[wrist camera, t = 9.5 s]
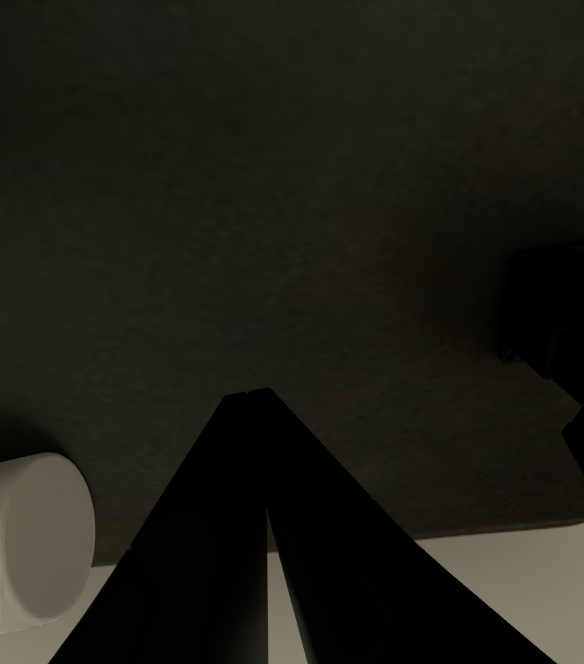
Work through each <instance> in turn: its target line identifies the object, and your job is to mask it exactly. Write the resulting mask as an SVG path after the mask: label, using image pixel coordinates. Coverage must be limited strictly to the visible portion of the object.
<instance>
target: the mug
mask: <svg viewBox="0 0 584 664" xmlns="http://www.w3.org/2000/svg"><path fill="white" fill-rule="evenodd" d="M94 545H95V518H94V510H93V504H92V500H91V496H90V493H89V490H88V487H87V484H86V482H85V480H84V478H83V476H82V474H81V473H80V471H79V470H78V469H77V467H76V466H75V465H74V464H73V463H72V462H71V461H70V460H69V459H67V458H66V457H64V456H62V455H60V454H57V453H51V452H45V453H39V454H35V455H30V456H26V457H22V458H17V459H13V460H8V461H4V462H0V635H4V634H8V633H13V632H16V631H22V630H26V629H30V628H35V627H39V626H43V625H48V624H50V623H53V622H55V621H57V620H58V619H60V618H61V617H62V616H64V615H65V614H66V613H67V612H68V611H69V610H70V609H71V607H72V606H73V605H74V604H75V602H76V601H77V599H78V597H79V596H80V594H81V592H82V590H83V588H84V586H85V583H86V580H87V578H88V575H89V572H90V568H91V564H92V559H93V553H94Z"/></svg>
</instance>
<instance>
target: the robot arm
mask: <svg viewBox="0 0 584 664" xmlns="http://www.w3.org/2000/svg"><path fill="white" fill-rule="evenodd" d="M524 258H525V262H524V263H523V264H521V265H520V262H521V260H522V259H524ZM499 338H500V343H499V350H498V357H499V359H500V360H501V361H502V362H503V363H505V364H513V363H520V362H526V363H527V364H528V365H530V366H531V367H532V368H533V369H534V370H535V371H536V372H537V373H538V374H539V375H540V376H541V377H543V378H544V379H545V380H554V381H555V382H556V383H557V384H558V385H559V386H560V387H561V388H562V389H564V390H565V391H566V392H567V393H568V394H569V395H570V396H571V397H572V398H574V399H575V400H576V401H577V402H578V403H579V404H580V405H583V406H582V408H581V409H580V411H579V412H578V413H577V415H576V416H575V418H574V419H573V421H572V422H571V423H568V424H567V425H566V426H565V428H564V429H563V431H562V432H561V434H562V436H563V438H564V439H565V441H566V443H567V445H568V447H569V449H570V450H571V452H572V454H573V456H574V458H575V460H576V461H577V463H578V465H579V467H580V469H581V471H582V472H583V474H584V241H582V242H575V243H569V244H562V245H555V246H549V247H542V248H535V249H528V250H522V251H519V252H517V253H516V254H514V256H513V257H512V259H511V263H510V270H509V277H508V285H507V292H506V295H505V296H504V301H503V308H502V315H501V323H500V330H499ZM509 353H511V354H510V355H509V356H507V355H508V354H509ZM506 356H507V357H506ZM266 507H267V511H268V515H269V519H270V524H271V528H272V531H273V535H274V539H275V543H276V546H277V550H278V554H279V558H280V561H281V565H282V569H283V572H284V576H285V580H286V584H287V587H288V591H289V595H290V599H291V603H292V606H293V610H294V614H295V617H296V621H297V625H298V629H299V632H300V636H301V640H302V644H303V648H304V651H305V655H306V659H307V662H308V664H557V663H556V662H554V661H553V660H552V659H551V658H550V657H548V656H547V655H546V654H545V653H543V652H542V651H541V650H540V649H539V648H538V647H536V646H535V645H534V644H533V643H532V642H530V641H529V640H528V639H527V638H526V637H525V636H523V635H522V634H521V633H520V632H519V631H517V630H516V629H515V628H514V627H513V626H512V625H510V624H509V623H508V622H507V621H506V620H505V619H503V618H502V617H501V616H500V615H499V614H498V613H496V612H495V611H494V610H493V609H492V608H490V607H489V606H488V605H487V604H486V603H485V602H483V601H482V600H481V599H480V598H479V597H478V596H476V595H475V594H474V593H473V592H472V591H470V590H469V589H468V588H467V587H466V586H465V585H463V584H462V583H461V582H460V581H459V580H458V579H456V578H455V577H454V576H453V575H451V574H450V573H449V572H448V571H447V570H446V569H445V568H444V567H442V566H441V565H440V564H439V563H438V562H437V561H436V560H435V559H434V558H432V557H431V556H430V555H429V554H428V553H427V552H426V551H425V550H424V549H422V548H421V547H420V546H419V545H418V544H417V543H416V542H415V541H414V540H413V539H412V538H411V537H410V536H409V535H408V534H407V533H406V532H405V531H404V530H403V529H402V528H401V527H400V526H399V525H398V524H397V523H396V522H395V521H394V520H393V519H392V518H391V517H390V516H389V515H388V514H387V513H386V512H385V511H384V510H383V508H382V507H381V506H380V505H379V504H378V503H377V502H376V501H375V500H374V499H371V496H370V495H369V494H368V493H367V492H366V490H365V489H364V488H363V487H362V486H361V485H360V484H359V483H358V482H357V481H356V480H355V479H354V478H353V476H352V475H351V474H350V473H349V472H348V471H347V470H346V469H345V468H344V467H343V466H342V465H341V464H340V462H339V461H338V460H337V459H336V458H335V457H334V456H333V455H332V454H331V453H330V452H329V451H328V450H327V448H326V447H325V446H324V445H323V444H322V443H321V442H320V441H319V440H318V439H317V438H316V437H315V436H314V434H313V433H312V432H311V431H310V430H309V429H308V428H307V427H306V426H305V425H304V424H303V423H302V421H301V420H300V419H299V418H298V417H297V416H296V415H295V414H294V413H293V412H292V411H291V410H290V409H289V407H288V406H287V405H286V404H285V403H284V402H283V401H282V400H281V399H280V398H279V397H278V396H277V395H276V393H275V392H274V391H273V390H272V389H271V388H268V387H267V388H262V389H256V390H251V391H250V392H249V393H248V394H247V393H246V392H240V393H235V394H229V395H226V396H225V397H224V398H223V399H222V401H221V402H220V404H219V405H218V407H217V409H216V410H215V412H214V413H213V415H212V416H211V418H210V420H209V421H208V423H207V424H206V426H205V427H204V429H203V431H202V432H201V434H200V435H199V437H198V438H197V440H196V442H195V443H194V445H193V446H192V448H191V449H190V451H189V453H188V454H187V456H186V457H185V459H184V461H183V462H182V464H181V465H180V467H179V468H178V470H177V472H176V473H175V475H174V476H173V478H172V479H171V481H170V483H169V484H168V486H167V487H166V489H165V490H164V492H163V494H162V495H161V497H160V498H159V500H158V501H157V503H156V505H155V506H154V508H153V509H152V511H151V513H150V514H149V516H148V517H147V519H146V520H145V522H144V524H143V525H142V527H141V528H140V530H139V531H138V533H137V535H136V536H135V538H134V539H133V541H132V542H131V544H130V549H131V550H130V549H128V550H126V552H125V553H124V555H123V556H122V558H121V559H120V561H119V563H118V564H117V566H116V567H115V569H114V571H113V572H112V574H111V575H110V577H109V578H108V580H107V581H106V583H105V584H104V586H103V587H102V589H101V590H100V592H99V593H98V595H97V596H96V597H95V599H94V600H93V602H92V604H91V605H90V606H89V608H88V609H87V611H86V612H85V614H84V615H83V616H82V618H81V619H80V621H79V622H78V623H77V625H76V626H75V628H74V629H73V630H72V632H71V633H70V634H69V636H68V637H67V638H66V640H65V641H64V642H63V644H62V645H61V647H60V648H59V649H58V651H57V652H56V653H55V655H54V656H53V657H52V659H51V660H50V662H49V663H48V664H268V593H267V592H268V591H267V587H268V584H267V512H266Z"/></svg>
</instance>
